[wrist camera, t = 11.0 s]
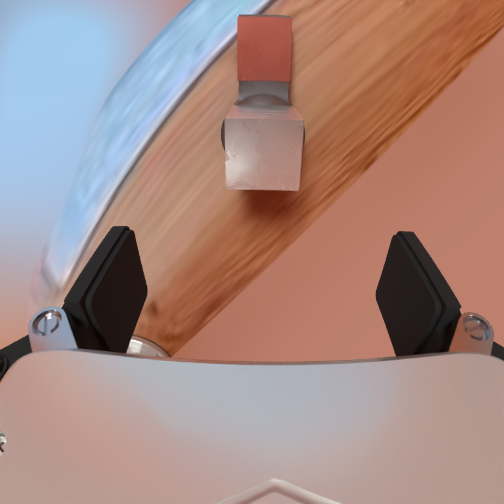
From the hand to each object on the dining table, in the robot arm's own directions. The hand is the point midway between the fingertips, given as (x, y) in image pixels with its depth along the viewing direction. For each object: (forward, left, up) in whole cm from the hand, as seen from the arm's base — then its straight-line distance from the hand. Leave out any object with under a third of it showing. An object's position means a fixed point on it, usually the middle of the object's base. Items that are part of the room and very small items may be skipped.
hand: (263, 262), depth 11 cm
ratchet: (+4, 0, -20) cm, 20 cm away
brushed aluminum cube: (0, 0, -17) cm, 17 cm away
